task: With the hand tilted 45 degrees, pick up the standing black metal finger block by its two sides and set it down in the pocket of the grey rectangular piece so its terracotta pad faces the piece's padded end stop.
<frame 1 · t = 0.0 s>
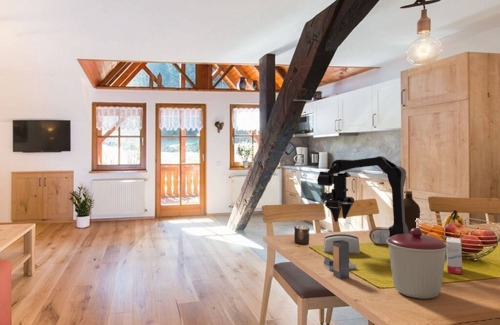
hand: (340, 220, 158), 15 cm above the table, tool pointing down, fingers open, 9 cm apart
canister: (416, 293, 111), on the table
tin: (385, 245, 170), on the table
white slotted device: (341, 252, 158), on the table
grey rectangular piece: (339, 267, 137), on the table
ink box: (453, 271, 131), on the table
olive oil: (409, 238, 181), on the table
finger block: (341, 276, 126), on the table
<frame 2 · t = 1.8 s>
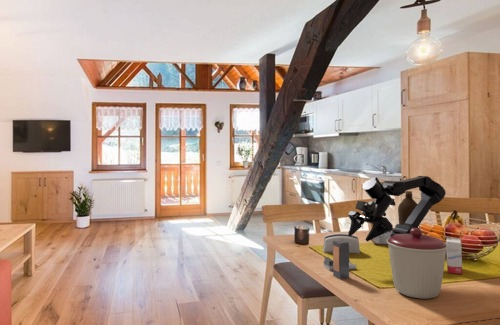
hand: (357, 238, 129), 13 cm above the table, tool tilted 45°, fingers open, 9 cm apart
nothing on the table moved.
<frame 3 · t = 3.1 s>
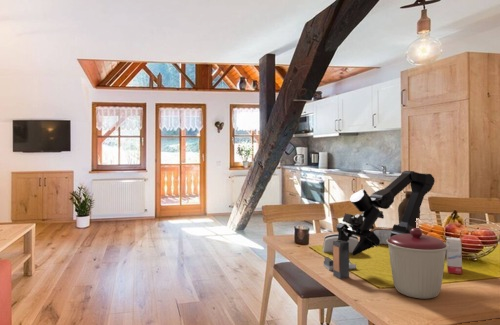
hand: (344, 251, 127), 9 cm above the table, tool tilted 45°, fingers open, 9 cm apart
nothing on the table moved.
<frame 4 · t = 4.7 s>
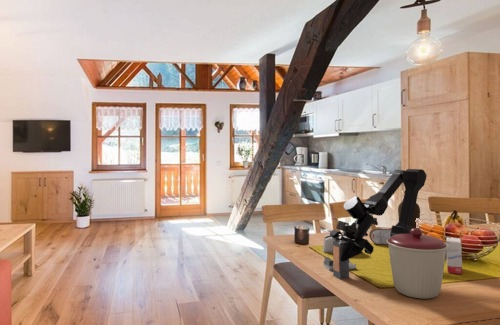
hand: (338, 259, 125), 7 cm above the table, tool tilted 45°, fingers closed on finger block, 4 cm apart
finger block: (341, 276, 126), on the table, touching gripper
everything else where it was.
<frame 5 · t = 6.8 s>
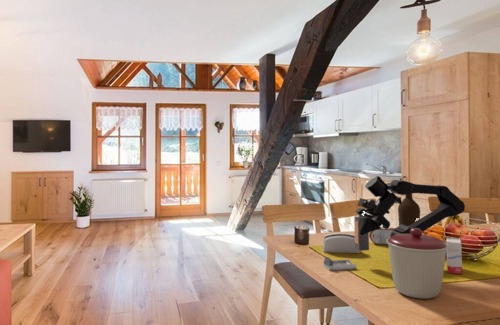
hand: (358, 233, 137), 13 cm above the table, tool tilted 45°, fingers closed on finger block, 4 cm apart
finger block: (361, 249, 138), point 7 cm above the table, touching gripper
everything else where it was.
when the fingers open (9 cm above the table, at t = 9.1 s): finger block drops 1 cm, resting on grey rectangular piece.
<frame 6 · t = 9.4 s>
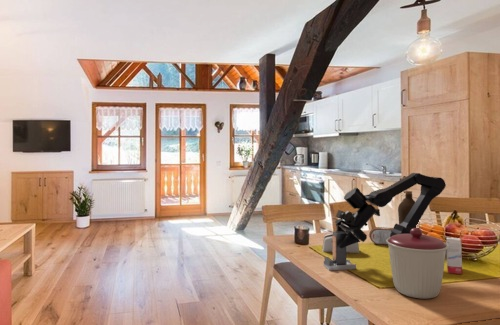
hand: (336, 245, 136), 9 cm above the table, tool tilted 45°, fingers open, 7 cm apart
finger block: (339, 264, 137), point 1 cm above the table, touching grey rectangular piece
everything else where it was.
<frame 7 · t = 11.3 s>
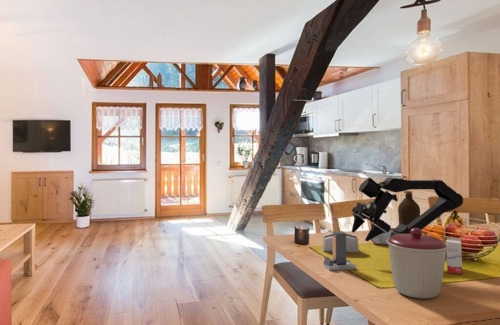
hand: (359, 236, 139), 12 cm above the table, tool tilted 35°, fingers open, 9 cm apart
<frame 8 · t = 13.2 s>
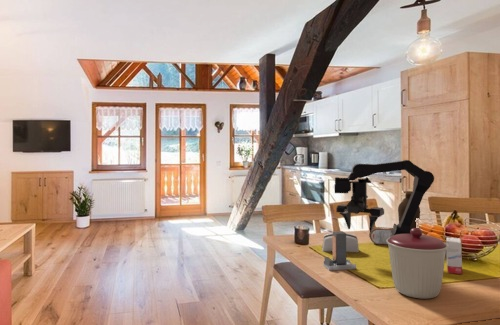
hand: (359, 230, 144), 13 cm above the table, tool pointing down, fingers open, 9 cm apart
at the end: finger block inside the target area (0.0 cm from its centre), point 1.0 cm above the table; finger block tilted 0°; the gripper is holding nothing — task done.
